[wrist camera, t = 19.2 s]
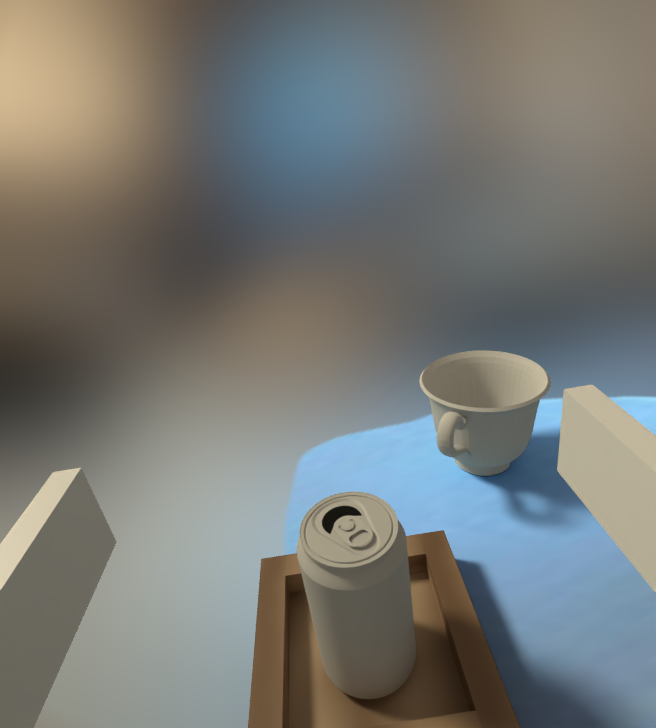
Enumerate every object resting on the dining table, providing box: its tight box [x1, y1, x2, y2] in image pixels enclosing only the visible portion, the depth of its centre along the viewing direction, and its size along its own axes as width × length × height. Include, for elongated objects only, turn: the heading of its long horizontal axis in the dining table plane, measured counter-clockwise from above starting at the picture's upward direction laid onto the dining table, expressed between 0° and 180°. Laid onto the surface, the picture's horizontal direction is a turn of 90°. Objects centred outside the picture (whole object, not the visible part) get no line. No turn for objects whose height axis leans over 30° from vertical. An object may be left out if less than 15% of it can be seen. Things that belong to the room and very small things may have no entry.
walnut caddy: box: [248, 530, 520, 728], centre depth 31 cm, size 15×15×3 cm
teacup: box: [420, 351, 551, 476], centre depth 46 cm, size 12×15×10 cm
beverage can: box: [297, 492, 416, 699], centre depth 29 cm, size 6×6×12 cm
